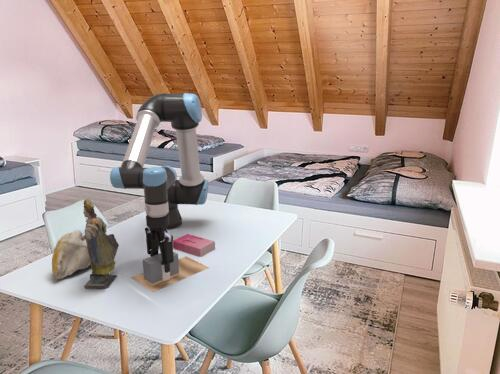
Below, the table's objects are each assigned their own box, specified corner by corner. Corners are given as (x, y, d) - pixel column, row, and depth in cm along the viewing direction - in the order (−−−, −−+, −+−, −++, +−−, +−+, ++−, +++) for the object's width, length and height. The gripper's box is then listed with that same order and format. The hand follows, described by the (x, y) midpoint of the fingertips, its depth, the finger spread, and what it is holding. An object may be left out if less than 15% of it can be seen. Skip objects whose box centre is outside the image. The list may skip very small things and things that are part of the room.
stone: (122, 256, 154) (70, 270, 132) (99, 270, 159) (45, 286, 137) (107, 222, 157) (54, 230, 134) (85, 237, 162) (30, 248, 139)
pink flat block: (178, 231, 171) (214, 241, 160) (179, 241, 172) (215, 251, 162) (163, 237, 164) (200, 248, 153) (164, 248, 165) (200, 260, 154)
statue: (95, 269, 146) (86, 191, 138) (123, 269, 145) (116, 191, 137) (76, 290, 131) (65, 204, 123) (108, 290, 131) (99, 204, 123)
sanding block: (170, 270, 143) (169, 249, 141) (179, 274, 139) (178, 253, 137) (144, 281, 135) (142, 259, 133) (152, 286, 132) (150, 264, 130)
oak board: (186, 258, 154) (186, 256, 154) (209, 270, 145) (209, 267, 145) (131, 280, 138) (130, 277, 137) (153, 294, 128) (153, 291, 128)
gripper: (133, 210, 134) (138, 272, 140) (163, 223, 122) (167, 290, 128) (151, 205, 140) (156, 265, 146) (182, 217, 128) (186, 282, 134)
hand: (161, 277), depth 137 cm, fingers closed on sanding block, 5 cm apart
